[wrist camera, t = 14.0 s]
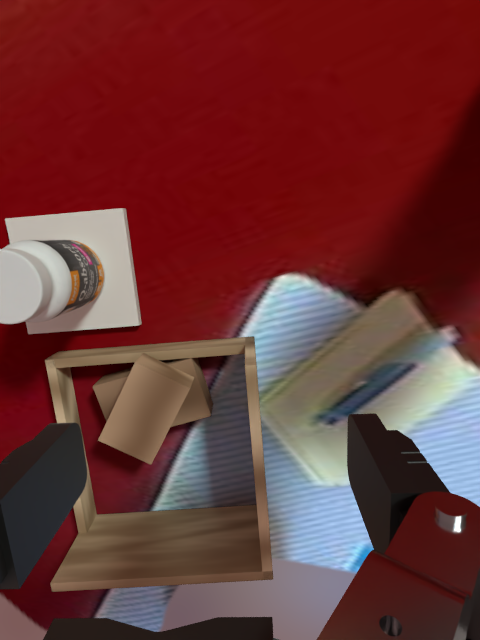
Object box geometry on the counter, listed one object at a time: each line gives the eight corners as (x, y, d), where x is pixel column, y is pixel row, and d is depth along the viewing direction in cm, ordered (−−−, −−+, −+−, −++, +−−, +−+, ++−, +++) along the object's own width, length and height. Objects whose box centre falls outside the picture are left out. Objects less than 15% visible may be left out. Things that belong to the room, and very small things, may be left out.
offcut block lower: (104, 374, 37) (92, 386, 34) (195, 348, 36) (191, 358, 34) (124, 426, 38) (114, 442, 35) (213, 401, 38) (210, 416, 35)
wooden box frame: (58, 351, 36) (6, 383, 29) (254, 336, 36) (256, 364, 28) (90, 522, 40) (52, 591, 32) (268, 511, 39) (273, 579, 32)
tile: (10, 219, 34) (5, 218, 33) (125, 208, 34) (122, 208, 33) (32, 332, 36) (28, 334, 35) (141, 323, 36) (139, 325, 35)
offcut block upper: (108, 425, 35) (97, 440, 33) (143, 352, 34) (135, 362, 31) (157, 448, 35) (151, 464, 33) (194, 377, 34) (190, 388, 31)
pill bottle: (118, 290, 34) (67, 312, 25) (60, 315, 35) (-12, 347, 25) (88, 228, 33) (22, 225, 23) (29, 255, 34) (-60, 263, 24)
